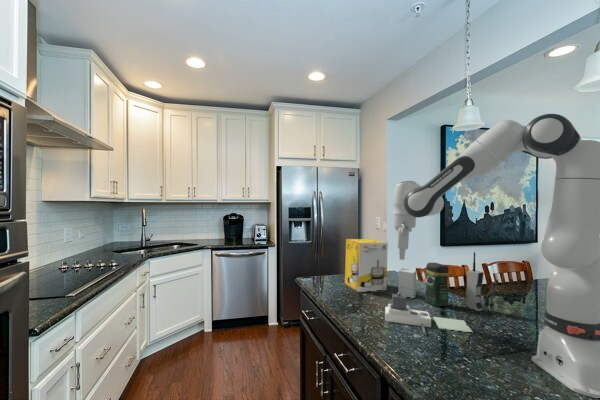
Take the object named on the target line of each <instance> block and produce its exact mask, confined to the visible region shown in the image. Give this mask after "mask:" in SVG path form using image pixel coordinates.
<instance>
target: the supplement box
mask: <svg viewBox="0 0 600 400" xmlns="http://www.w3.org/2000/svg"><path fill="white" fill-rule="evenodd" d="M397 289H398V292H400V293H401V295H406V297H410V298H409V299H412V298H414V299H415V298H416V296H417V270H416V269H410V268H409V269H408V268H401V269H400V270H398V288H397ZM398 292H397V293H398ZM415 295H416V296H415Z"/></svg>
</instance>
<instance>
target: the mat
mask: <svg viewBox="0 0 600 400" xmlns="http://www.w3.org/2000/svg"><path fill="white" fill-rule="evenodd" d="M432 318H433V320H434V323H435V325H436V327H437V326H438V327H437V329H438V330H443V329H444V330H443V331H450V330H454V331H453V332H458V331H462V332H461V333H465V332H472V333H473V330H472V329H471V328H470V326H469V325H468V324H467V323H466V321H465V320H462V319H455V318H448V317H447V318H446V317H438V316H433V317H432ZM466 324H467V325H468V326H467V325H466ZM445 329H446V330H445ZM472 333H471V334H472ZM473 334H474V333H473Z"/></svg>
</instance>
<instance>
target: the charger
mask: <svg viewBox="0 0 600 400" xmlns="http://www.w3.org/2000/svg"><path fill="white" fill-rule="evenodd" d="M391 295H392V297H391V304H392V309H397V310H405V311H406V306H407V298H406V295H401V293H400V292H397V293H392V294H391Z"/></svg>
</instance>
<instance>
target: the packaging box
mask: <svg viewBox="0 0 600 400" xmlns="http://www.w3.org/2000/svg"><path fill="white" fill-rule="evenodd" d="M388 247H389V246H388V242H384V241H380V240H377V239H372V238H365V239H364V238H363V239H362V238H355V239H354V238H346V239H345V262H344V263H345V264H344V266H345V267H344V284H345V285H346V286H348V287H349V288H351V289H353V290H354V291H356V292H357V293H368V292H367V291H371V292H378V291H377V290H386V291H387V280H388V279H387V275H388V273H387V272H388Z"/></svg>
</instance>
